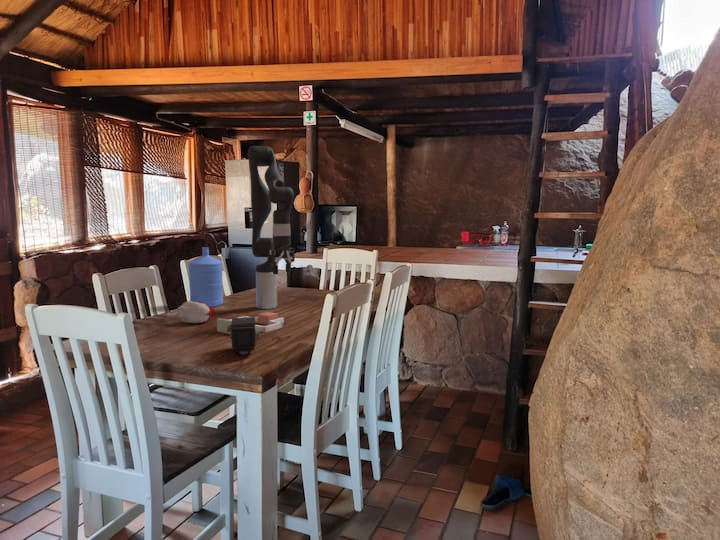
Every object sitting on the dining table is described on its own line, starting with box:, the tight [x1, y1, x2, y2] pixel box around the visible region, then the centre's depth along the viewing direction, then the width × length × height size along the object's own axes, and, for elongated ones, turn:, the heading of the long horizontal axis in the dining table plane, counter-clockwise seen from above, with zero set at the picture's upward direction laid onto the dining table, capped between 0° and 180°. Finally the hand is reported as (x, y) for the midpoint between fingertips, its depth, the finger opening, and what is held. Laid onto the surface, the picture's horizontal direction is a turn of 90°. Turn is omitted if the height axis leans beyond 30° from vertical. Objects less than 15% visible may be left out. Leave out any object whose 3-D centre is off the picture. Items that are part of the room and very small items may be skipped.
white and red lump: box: [175, 300, 216, 324], centre depth 226 cm, size 9×11×15 cm
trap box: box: [216, 315, 285, 335], centre depth 218 cm, size 27×22×5 cm
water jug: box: [188, 246, 224, 308], centre depth 263 cm, size 16×16×28 cm
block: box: [257, 311, 279, 326], centre depth 226 cm, size 6×6×4 cm
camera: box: [227, 316, 261, 355], centre depth 181 cm, size 11×11×15 cm
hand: (281, 273), depth 231 cm, fingers open, 7 cm apart
